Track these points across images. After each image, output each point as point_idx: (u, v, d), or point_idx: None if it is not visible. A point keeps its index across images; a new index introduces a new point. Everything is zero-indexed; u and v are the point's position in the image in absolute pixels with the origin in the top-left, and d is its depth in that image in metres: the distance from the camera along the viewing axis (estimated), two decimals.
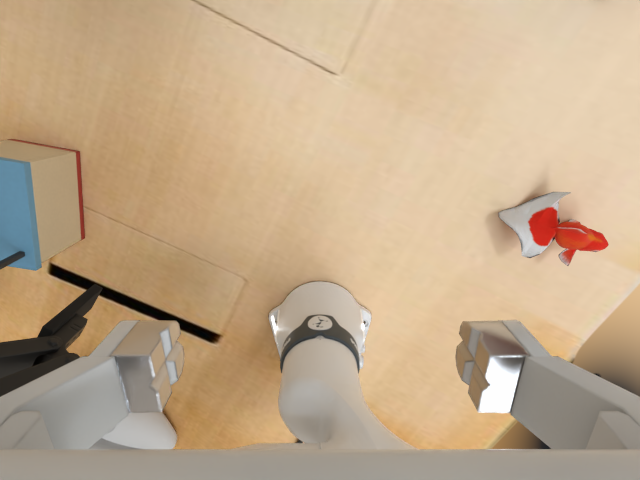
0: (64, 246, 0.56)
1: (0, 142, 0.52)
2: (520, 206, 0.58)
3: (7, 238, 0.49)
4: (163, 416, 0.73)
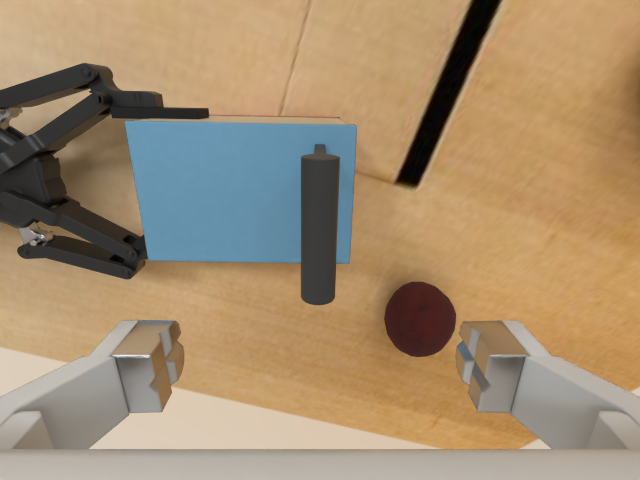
0: (335, 120, 0.29)
1: None
2: None
3: (292, 175, 0.25)
4: None
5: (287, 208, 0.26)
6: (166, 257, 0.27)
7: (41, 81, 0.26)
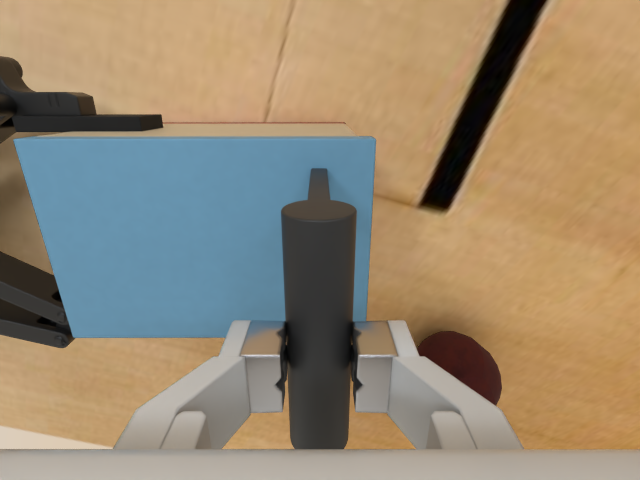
0: (340, 127, 0.21)
1: None
2: None
3: (277, 215, 0.16)
4: None
5: (272, 263, 0.17)
6: (98, 333, 0.18)
7: None
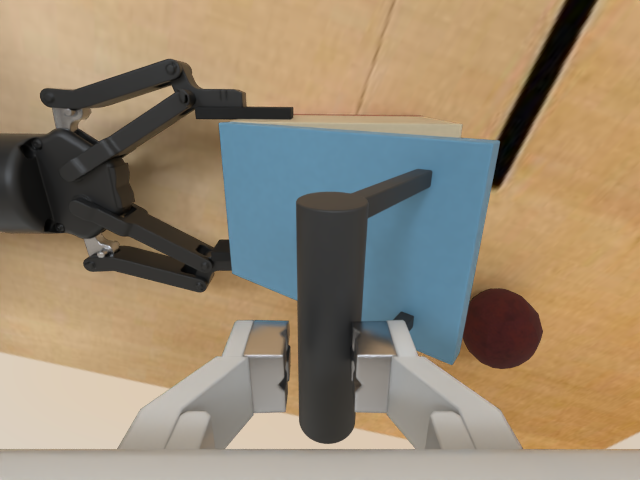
0: (430, 119, 0.27)
1: None
2: None
3: None
4: None
5: (369, 255, 0.17)
6: (245, 275, 0.24)
7: (120, 79, 0.24)
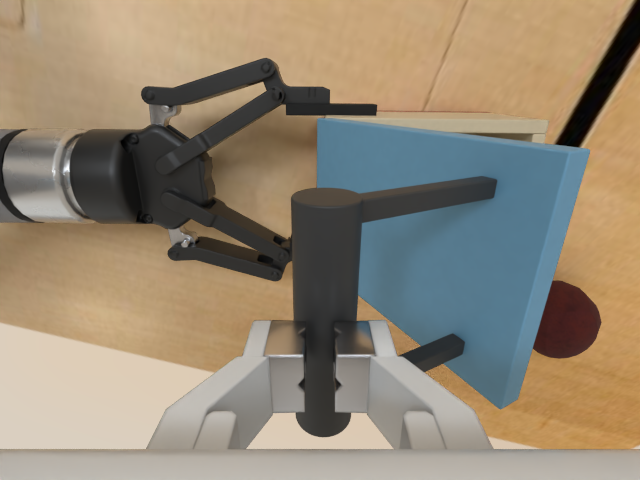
0: (505, 115, 0.28)
1: None
2: None
3: (441, 219, 0.15)
4: None
5: (427, 266, 0.16)
6: None
7: (218, 77, 0.25)
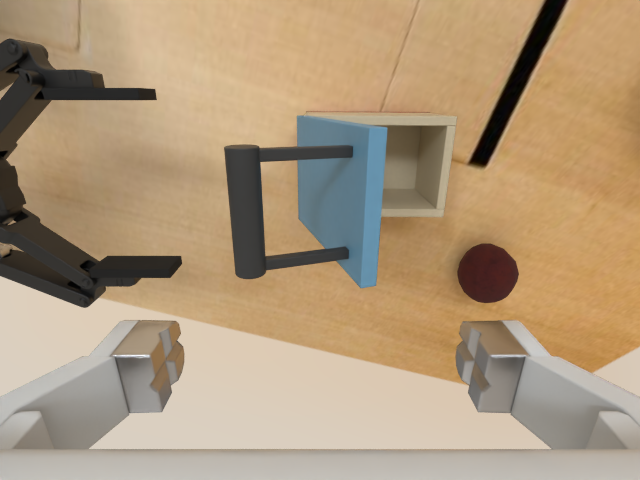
0: None
1: None
2: None
3: (339, 174, 0.25)
4: None
5: (336, 205, 0.26)
6: (302, 220, 0.35)
7: None
